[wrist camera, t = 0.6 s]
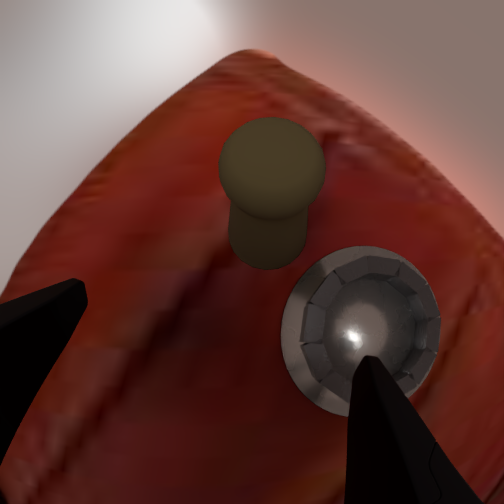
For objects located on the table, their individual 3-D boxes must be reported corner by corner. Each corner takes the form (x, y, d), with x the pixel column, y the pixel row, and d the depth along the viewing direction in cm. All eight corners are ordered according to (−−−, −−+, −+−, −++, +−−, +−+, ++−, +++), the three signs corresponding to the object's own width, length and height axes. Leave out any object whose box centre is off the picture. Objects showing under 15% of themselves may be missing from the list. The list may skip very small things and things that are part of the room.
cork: (273, 286, 22) (287, 238, 12) (211, 236, 23) (176, 157, 13) (321, 226, 23) (364, 143, 13) (261, 182, 24) (262, 83, 14)
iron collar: (454, 365, 20) (471, 366, 17) (317, 442, 19) (324, 454, 16) (398, 226, 23) (412, 214, 21) (253, 285, 22) (253, 278, 20)
